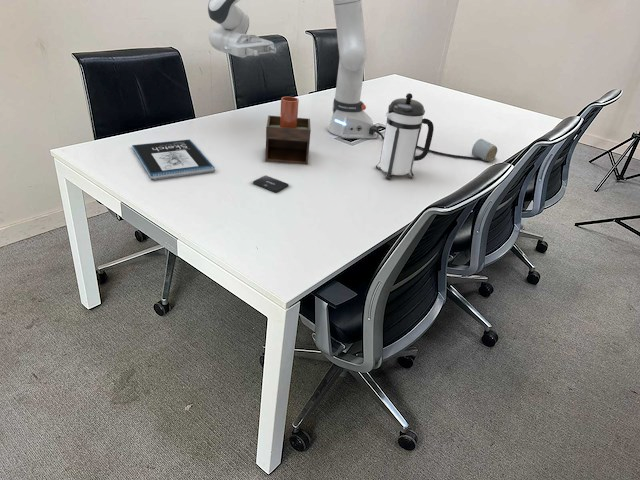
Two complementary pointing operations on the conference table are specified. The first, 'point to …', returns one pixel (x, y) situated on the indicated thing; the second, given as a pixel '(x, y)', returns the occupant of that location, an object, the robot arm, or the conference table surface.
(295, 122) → the tumbler
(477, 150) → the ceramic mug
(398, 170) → the coffee press
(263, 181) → the solid state drive
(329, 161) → the conference table surface
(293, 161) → the storage cube
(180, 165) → the sketchbook
